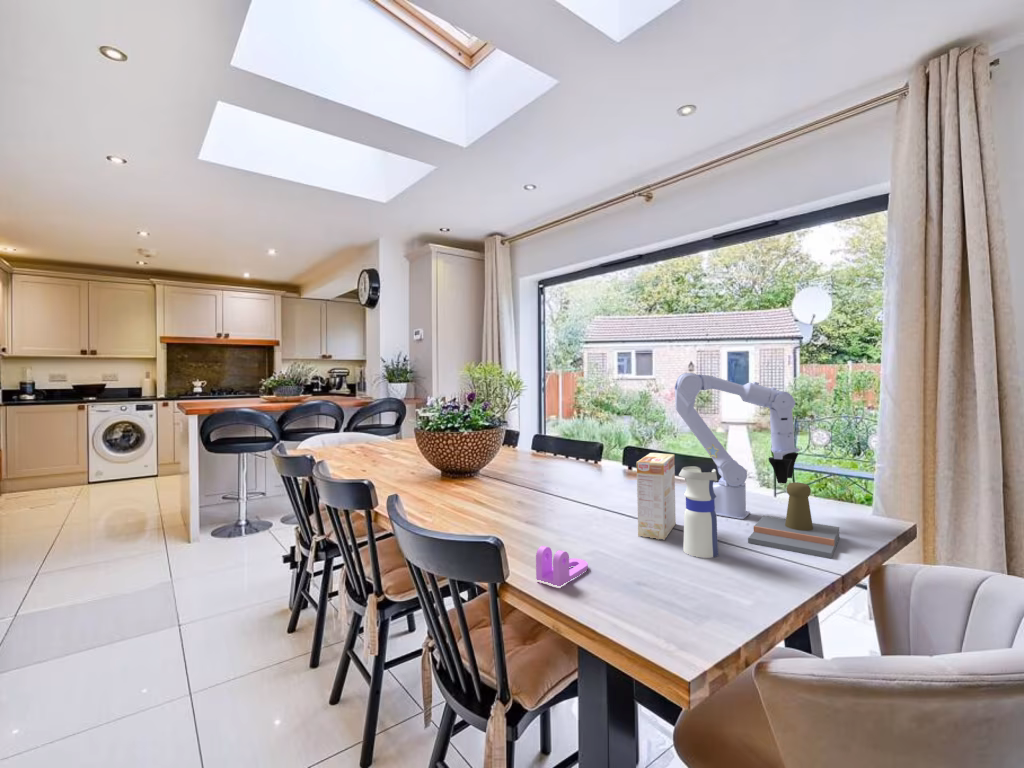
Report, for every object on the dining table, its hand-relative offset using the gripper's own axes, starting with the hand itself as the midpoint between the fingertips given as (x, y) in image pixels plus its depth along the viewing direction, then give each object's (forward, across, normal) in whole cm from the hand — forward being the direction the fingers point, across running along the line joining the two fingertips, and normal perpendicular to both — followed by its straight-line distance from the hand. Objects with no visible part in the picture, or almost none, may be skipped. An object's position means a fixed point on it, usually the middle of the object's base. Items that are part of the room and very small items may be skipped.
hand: (785, 480), depth 137 cm
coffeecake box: (+9, -33, +25) cm, 42 cm away
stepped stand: (+10, -20, -5) cm, 23 cm away
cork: (+8, -17, -6) cm, 20 cm away
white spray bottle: (+9, -41, +10) cm, 44 cm away
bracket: (+8, -71, +28) cm, 77 cm away
